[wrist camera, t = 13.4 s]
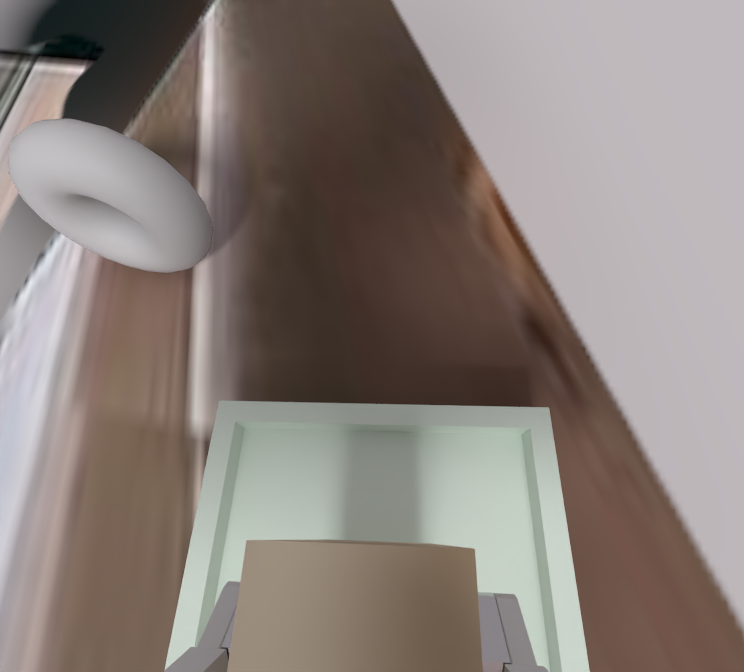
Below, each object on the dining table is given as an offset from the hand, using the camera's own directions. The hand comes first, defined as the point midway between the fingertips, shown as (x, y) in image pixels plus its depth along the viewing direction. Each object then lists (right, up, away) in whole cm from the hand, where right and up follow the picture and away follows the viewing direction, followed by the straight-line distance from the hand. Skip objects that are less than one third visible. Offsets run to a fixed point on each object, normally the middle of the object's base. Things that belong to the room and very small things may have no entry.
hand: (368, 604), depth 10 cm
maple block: (0, -3, +5) cm, 6 cm away
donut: (-14, +12, +17) cm, 25 cm away
